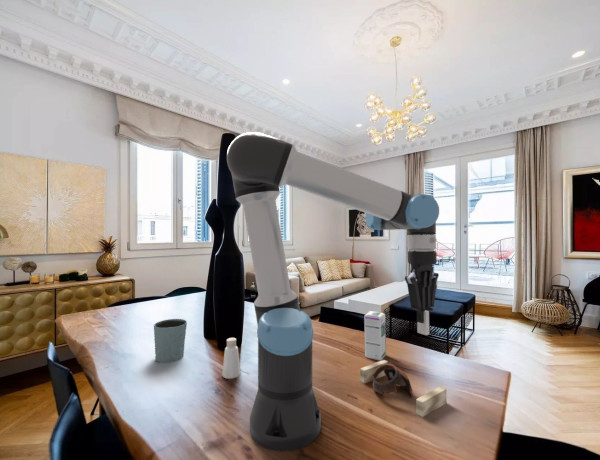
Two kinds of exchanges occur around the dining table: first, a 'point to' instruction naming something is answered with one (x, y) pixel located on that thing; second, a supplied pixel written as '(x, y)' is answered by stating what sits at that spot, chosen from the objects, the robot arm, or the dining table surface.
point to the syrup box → (375, 335)
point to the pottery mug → (391, 379)
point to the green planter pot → (169, 340)
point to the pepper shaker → (231, 360)
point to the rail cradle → (423, 403)
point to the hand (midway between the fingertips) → (423, 333)
